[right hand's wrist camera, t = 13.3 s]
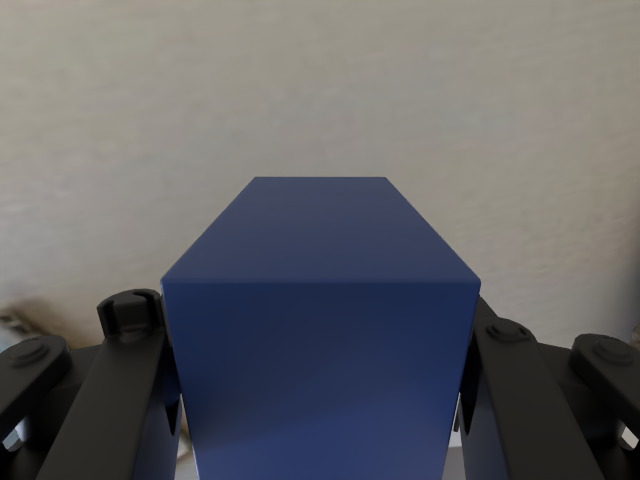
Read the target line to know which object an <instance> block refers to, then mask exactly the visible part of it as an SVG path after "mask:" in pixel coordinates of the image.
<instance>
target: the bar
mask: <svg viewBox="0 0 640 480" xmlns="http://www.w3.org/2000/svg"><path fill="white" fill-rule="evenodd" d="M160 285H161V290H162V296H163V301H164V306H165V311H166V316H167V321H168V326H169V331H170V337H171V342H172V347H173V352H174V357H175V362H176V367H177V372H178V377H179V383H180V388H181V393H182V398H183V403H184V408H185V413H186V418H187V423H188V429H189V434H190V439H191V444H192V449H193V454H194V459H195V464H196V469H197V475H198V480H442V475H443V470H444V465H445V460H446V455H447V450H448V445H449V440H450V435H451V431H452V426H453V421H454V416H455V411H456V406H457V401H458V396H459V391H460V386H461V381H462V376H463V371H464V366H465V361H466V356H467V351H468V346H469V341H470V336H471V331H472V326H473V321H474V316H475V311H476V306H477V301H478V296H479V292H480V287H481V281H480V279H479V278H478V277H477V275H476V274H475V273H474V272H473V271H472V270H471V269H470V268H469V267H468V266H467V265H466V264H465V262H464V261H463V260H462V259H461V258H460V257H459V256H458V255H457V254H456V253H455V252H454V251H453V249H452V248H451V247H450V246H449V245H448V244H447V243H446V242H445V241H444V240H443V239H442V238H441V237H440V235H439V234H438V233H437V232H436V231H435V230H434V229H433V228H432V227H431V226H430V225H429V224H428V222H427V221H426V220H425V219H424V218H423V217H422V216H421V215H420V214H419V213H418V212H417V211H416V210H415V208H414V207H413V206H412V205H411V204H410V203H409V202H408V201H407V200H406V199H405V198H404V197H403V195H402V194H401V193H400V192H399V191H398V190H397V189H396V188H395V187H394V186H393V185H392V184H391V183H390V181H389V180H388V179H387V178H386V177H254V179H253V180H252V181H251V182H250V183H249V184H248V185H247V186H246V187H245V188H244V189H243V190H242V192H241V193H240V194H239V195H238V196H237V197H236V198H235V199H234V200H233V201H232V202H231V203H230V205H229V206H228V207H227V208H226V209H225V210H224V211H223V212H222V213H221V214H220V215H219V216H218V218H217V219H216V220H215V221H214V222H213V223H212V224H211V225H210V226H209V227H208V228H207V229H206V231H205V232H204V233H203V234H202V235H201V236H200V237H199V238H198V239H197V240H196V241H195V242H194V244H193V245H192V246H191V247H190V248H189V249H188V250H187V251H186V252H185V253H184V254H183V255H182V257H181V258H180V259H179V260H178V261H177V262H176V263H175V264H174V265H173V266H172V267H171V269H170V270H169V271H168V272H167V273H166V274H165V275H164V276H163V277H162V278H161V281H160Z"/></svg>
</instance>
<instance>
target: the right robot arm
mask: <svg viewBox="0 0 640 480" xmlns="http://www.w3.org/2000/svg"><path fill="white" fill-rule="evenodd" d="M96 308H97V311H98V315H99V318H100V322H101V325H102V329H103V332H104V336H105V339H104V341H103V343H102V344H100V345H96V346H91V347H86V348H81V349H75V350H70V351H69V349H68V346H67V343H66V340H65V339H64V338H62V337H61V336H55V335H47V336H38V337H33V338H32V339H30V338H29V339H26V340H23V341H21V342H20V343H18V344H16V345H14V346H11V347H9V348H8V349H6V350H5V351H3V352H2V353H0V480H174V476H175V468H176V460H177V451H178V443H179V434H180V426H181V417H182V403H181V398H180V394H181V388H180V383H179V377H178V372H177V367H176V362H175V357H174V352H173V347H172V342H171V337H170V331H169V326H168V321H167V316H166V311H165V306H164V301H163V296H162V295H161V298H160V294H159V293H158V292H156V291H155V290H150V289H133V290H128V291H123V292H121V293H118V294H115V295H112V296H110V297H109V298H107V299H105V300H104V301H102V302H101V303H100V304H99V305H98V306H97V307H96ZM459 392H460V398H459V403H458V408H457V413H456V418H455V423H454V429H453V431H455V432H458V429H459V425H460V433H461V442H462V450H463V459H464V467H465V475H466V480H640V351H639V350H637V349H636V348H634V347H632V346H631V345H629V344H626V343H624V342H622V341H620V340H619V339H616V338H613V337H609V336H606V335H598V334H582V335H579V336H578V337H576V338H575V341H574V344H573V347H572V349H567V348H562V347H557V346H552V345H547V344H542V343H538V342H537V340H536V338H535V337H534V335H533V334H532V333H531V332H530V330H528V329H527V328H525V327H524V326H522V325H521V324H519V323H516V322H514V321H511V320H509V319H504V318H500V317H498V316H497V315H496V314H495V312H494V311H493V310H492V309H491V308H490V307H489V305H488V304H487V303H486V302H485V301H484V299H483V298H482V297H480V295H479V296H478V301H477V306H476V311H475V316H474V321H473V326H472V331H471V336H470V341H469V346H468V351H467V356H466V361H465V366H464V371H463V376H462V381H461V386H460V391H459ZM626 426H627V428H628V429H629V430H630V431H631V432H632V433H633V434H634V435H635V436H636V437H637V438H638V440H639V441H638V443H637V445H636V447H635V448H634V449H633V448H632V447H631V446H630V445H629V444H627V442H626V441H625V440H624V439H623V438H622V437H621V436H622V434H623V432H624V429H625V427H626ZM14 428H15V429H16V431H17V433H18V435H19V437H20V438H19V439H18V440H17V441H16V442H15V444H14V445H13V446H11V447H10V448H9V449H8V450H7V449H6V448H5V447H4V444H3V442H2V441H3V440H4V439H5V438H6V437H7V436H8V435H9V434H10V433H11V432H12V431H13V429H14Z"/></svg>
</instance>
